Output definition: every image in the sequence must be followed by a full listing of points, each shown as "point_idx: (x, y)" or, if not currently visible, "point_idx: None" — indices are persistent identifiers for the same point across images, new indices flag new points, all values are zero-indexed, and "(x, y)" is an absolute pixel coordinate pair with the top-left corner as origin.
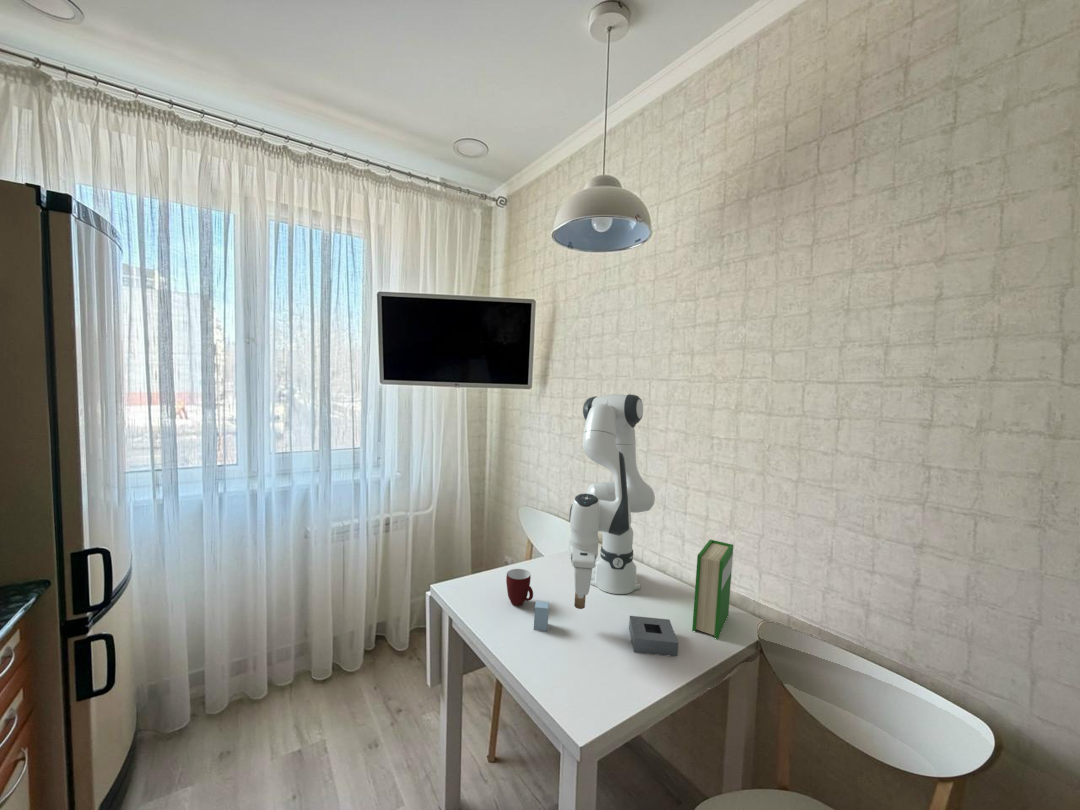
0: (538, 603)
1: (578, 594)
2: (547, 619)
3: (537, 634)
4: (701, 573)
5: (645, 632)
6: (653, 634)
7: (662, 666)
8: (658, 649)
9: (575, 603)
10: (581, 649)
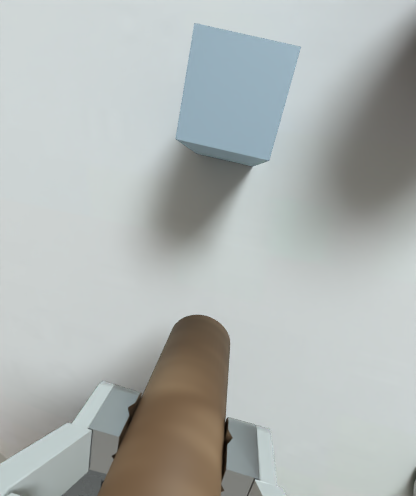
0: (250, 65)
1: (84, 408)
2: (191, 148)
3: (172, 105)
4: None
5: (100, 478)
6: (92, 491)
7: (41, 435)
8: None
9: (183, 330)
10: (87, 264)
